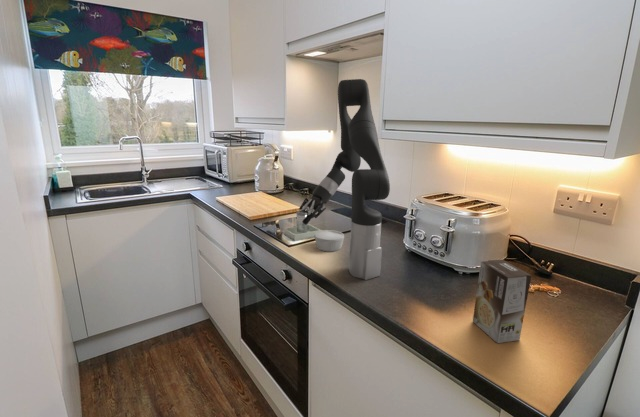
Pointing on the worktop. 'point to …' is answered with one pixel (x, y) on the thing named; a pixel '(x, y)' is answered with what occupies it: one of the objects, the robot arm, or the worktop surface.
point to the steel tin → (300, 225)
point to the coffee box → (501, 300)
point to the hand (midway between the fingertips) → (300, 221)
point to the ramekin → (329, 240)
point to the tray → (297, 236)
